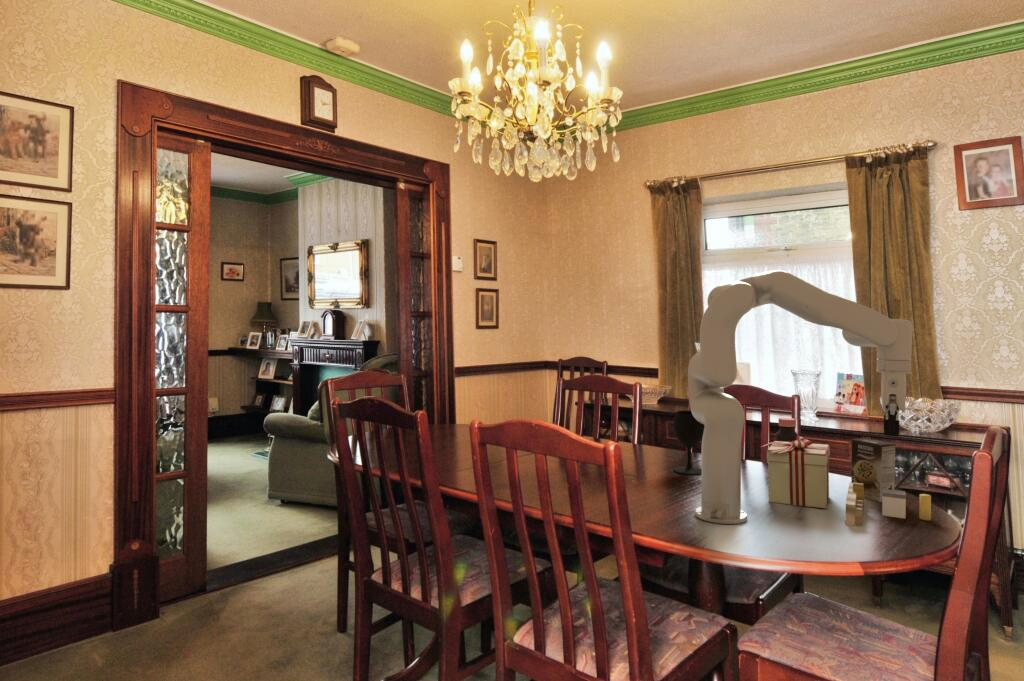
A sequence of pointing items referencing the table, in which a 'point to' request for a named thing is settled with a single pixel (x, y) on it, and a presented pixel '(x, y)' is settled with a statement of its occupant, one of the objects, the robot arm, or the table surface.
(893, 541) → the table surface
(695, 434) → the wine glass
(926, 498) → the post
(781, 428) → the bottle
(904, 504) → the beige square box
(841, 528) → the table surface
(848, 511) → the comb fence
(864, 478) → the coffee box
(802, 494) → the gift box
